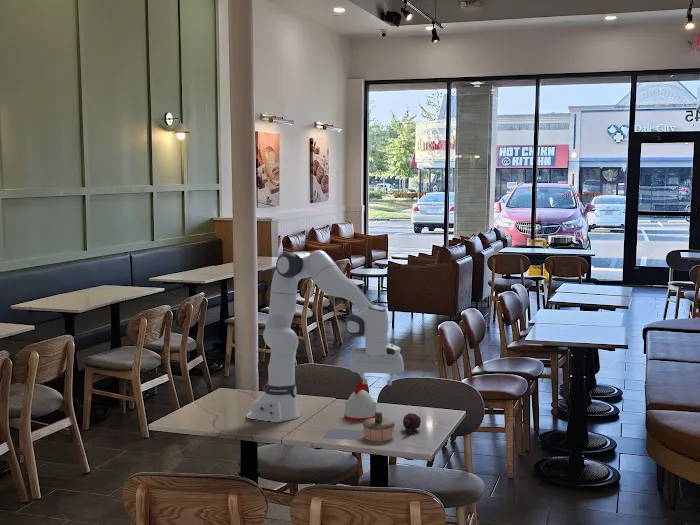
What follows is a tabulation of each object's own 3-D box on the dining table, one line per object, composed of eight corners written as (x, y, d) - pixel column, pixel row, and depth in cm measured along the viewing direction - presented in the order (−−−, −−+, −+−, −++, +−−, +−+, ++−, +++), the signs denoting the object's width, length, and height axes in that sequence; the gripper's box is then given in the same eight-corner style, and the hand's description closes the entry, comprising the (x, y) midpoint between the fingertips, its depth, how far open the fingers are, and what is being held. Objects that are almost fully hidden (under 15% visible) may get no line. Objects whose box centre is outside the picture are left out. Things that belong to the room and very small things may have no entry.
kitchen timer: (383, 416, 335) (383, 381, 334) (364, 423, 324) (364, 387, 323) (357, 411, 344) (356, 377, 342) (337, 418, 333) (336, 383, 331)
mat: (322, 439, 305) (322, 437, 305) (330, 430, 316) (330, 428, 316) (358, 441, 302) (358, 439, 301) (365, 431, 313) (365, 430, 313)
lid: (359, 428, 300) (359, 416, 300) (366, 420, 312) (366, 408, 311) (391, 430, 297) (390, 417, 297) (397, 421, 309) (396, 409, 308)
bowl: (362, 441, 301) (361, 428, 300) (368, 433, 311) (367, 420, 311) (390, 443, 298) (390, 429, 298) (395, 434, 309) (395, 421, 308)
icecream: (405, 408, 322) (395, 422, 308) (422, 405, 319) (413, 418, 306) (410, 424, 323) (400, 438, 309) (427, 421, 320) (418, 435, 306)
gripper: (348, 349, 301) (348, 385, 302) (401, 350, 296) (401, 387, 297) (352, 346, 307) (352, 381, 308) (404, 347, 303) (404, 383, 304)
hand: (377, 384), depth 303 cm, fingers open, 8 cm apart
